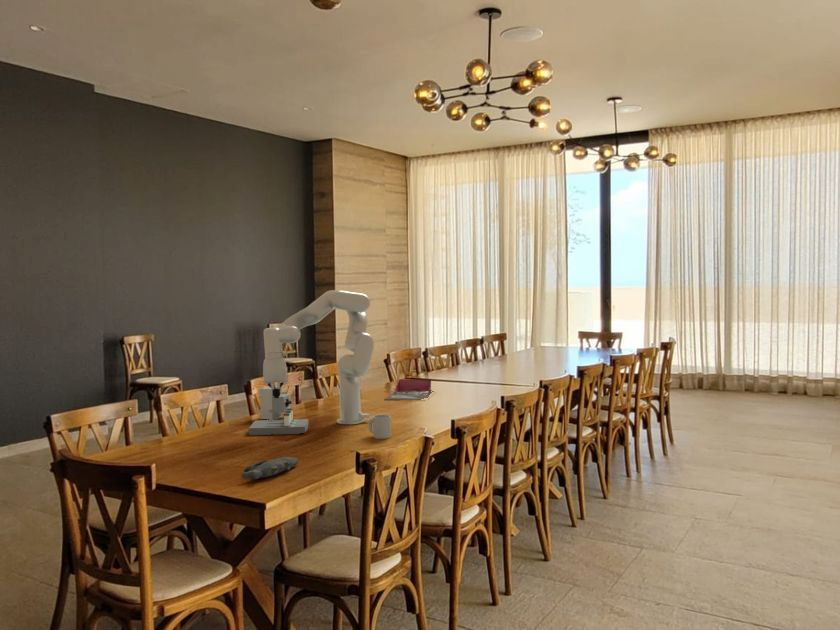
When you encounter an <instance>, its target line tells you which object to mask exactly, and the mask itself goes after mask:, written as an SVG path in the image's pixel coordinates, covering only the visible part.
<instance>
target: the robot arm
mask: <svg viewBox="0 0 840 630" xmlns="http://www.w3.org/2000/svg"><path fill="white" fill-rule="evenodd" d="M370 306H371V300H370V298H369V296H367V294H364V293H360V292H352V291H345V290H338V289H337V290H336V289H334V290H328V291H326V292H324V293H323V294H321V295H320V296H319V297H318V298H317V299H315V300H313V301H312V302H311V303H310V304H309V305H308V306H306V307H305V308H302V309H301V310H299V311H297V312H296V313H294V314H293V315H291V316H289V317H287V318H286V319H285V320H284V321H282V323H280V324H279V325H278V326H277V327H266V328H264V329H263V343H264V345H263V347H264V359H263V366H262V378H263V379H262V381H263V384H262V385H263V386H269V387H271V388H272V389H273V396H274V398H279V396H280V388H281V389H282V387H283V385H287V384H289V380H288V377H289V376H288V368H287V362H286V358H284V357H285V356H287V352H284V351H283V344H294V343H296V342H298V341H299V340H300V339H301V335H302V334H301V329H303V328H306V327H308V326H312V325H315V324H317V323H319V322H320V321H322V320H323V319H324V318H326V317H327V316H328V315H329V314H331V312H333V311H334V310H343V311H346V313H347V315H348V327H347V331H346V336H345V340H344V346H345V348H346V350H347V351H348V352H351V353H353V354H344V355H342V356H341V357H339V359H338V361H337V372H338V378H339V379H338V380H339V416H340V417H339V418H337V420H336V423H337V424H340V425H356V424H357V425H358V424H363V423H364V422H365V419H371V414H370V413H363V412H362V410H361V409H362V407H361V380H360V378H361V377H364V376H366V375H367V373H368V372H369V370H370V367H371V362H372V359H373V353H374V348H375V342H374V338H373V336H371V334H369V333H367V328H368V327H367V326H368V316H367V314H366V311H368V310H369V309H370ZM275 383H277V384H276V385H275ZM275 386H277V389H276V387H275Z"/></svg>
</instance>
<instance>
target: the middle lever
mask: <svg viewBox="0 0 840 630" xmlns="http://www.w3.org/2000/svg"><path fill="white" fill-rule="evenodd" d="M284 413H290V415H289V417H290V423H291V410H286V411H285V412H284Z"/></svg>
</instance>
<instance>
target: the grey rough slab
mask: <svg viewBox="0 0 840 630" xmlns="http://www.w3.org/2000/svg"><path fill="white" fill-rule="evenodd" d="M298 464H299V460H298V458H296V457H293V456H292V457H291V456H288V457H287V456H282V457H277V458H274V459H262V460H260V461H257V462H253V463H251V464H249V466H246V467H244V469H243V473H242V475H241V477H242V479H243V480H246V479H247V480H249V479H254V480H257V479H260V478H261V479H263V478H269V477H273V476H276V475H279V474H280V473H283V472H284V471H290V470H291V469H292V468H294V467H296V466H297V465H298Z"/></svg>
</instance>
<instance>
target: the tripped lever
mask: <svg viewBox="0 0 840 630" xmlns="http://www.w3.org/2000/svg"><path fill="white" fill-rule="evenodd" d="M289 415H290V413H285V412H283V420H284V426H289V425H290V417H289Z"/></svg>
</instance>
